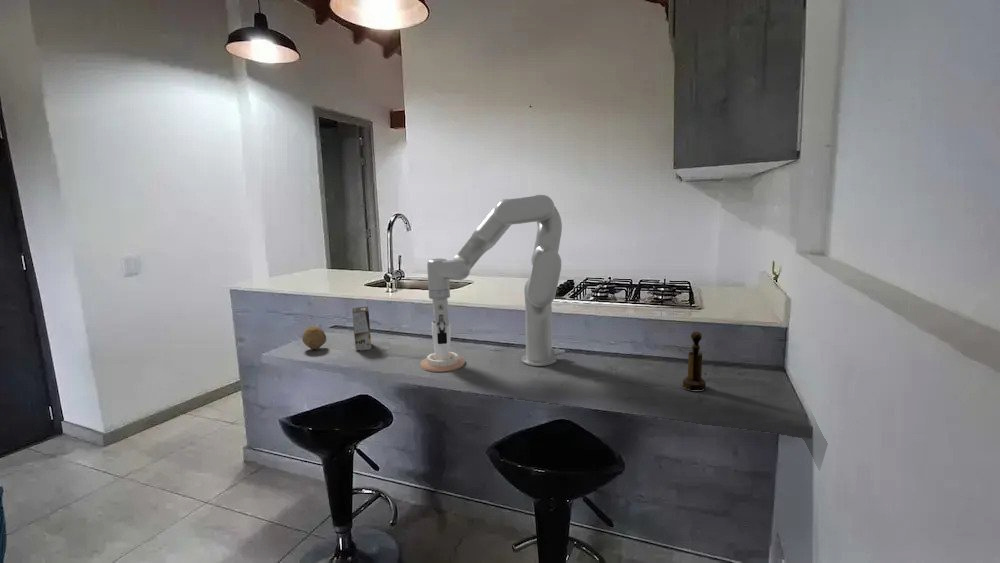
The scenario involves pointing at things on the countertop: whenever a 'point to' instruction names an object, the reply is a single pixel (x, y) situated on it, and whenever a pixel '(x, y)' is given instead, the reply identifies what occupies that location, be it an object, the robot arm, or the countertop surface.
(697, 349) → the dark chess pawn
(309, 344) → the natural sponge
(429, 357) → the tan saucer
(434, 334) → the drinking glass
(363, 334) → the coffee box
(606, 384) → the countertop surface
